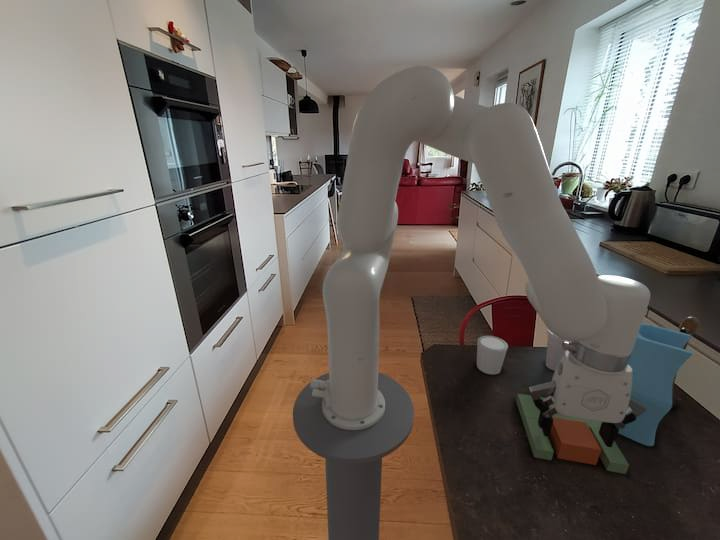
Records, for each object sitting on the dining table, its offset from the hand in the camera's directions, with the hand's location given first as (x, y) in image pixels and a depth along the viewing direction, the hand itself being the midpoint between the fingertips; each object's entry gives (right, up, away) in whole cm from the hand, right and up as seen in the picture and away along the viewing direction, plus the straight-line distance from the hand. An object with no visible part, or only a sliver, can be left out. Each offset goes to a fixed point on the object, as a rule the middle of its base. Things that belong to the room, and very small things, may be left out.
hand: (573, 435), depth 57 cm
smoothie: (+10, +5, +23) cm, 26 cm away
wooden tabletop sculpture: (+26, +1, +12) cm, 29 cm away
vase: (+15, -1, +6) cm, 16 cm away
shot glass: (-6, +5, +23) cm, 24 cm away
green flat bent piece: (+1, -2, +4) cm, 4 cm away
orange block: (0, -3, +1) cm, 3 cm away
